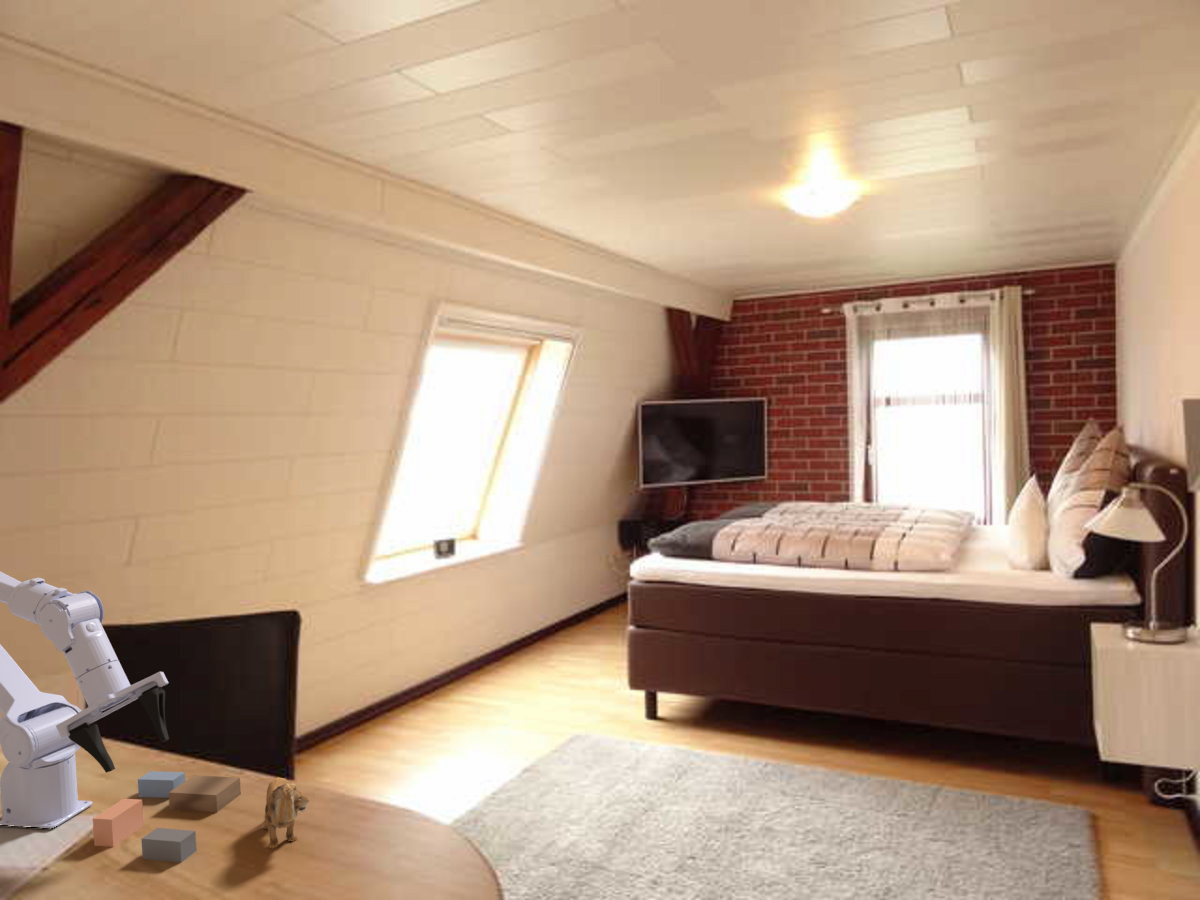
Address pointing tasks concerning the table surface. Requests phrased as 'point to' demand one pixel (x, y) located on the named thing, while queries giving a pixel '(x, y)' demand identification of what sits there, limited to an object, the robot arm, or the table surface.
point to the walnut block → (204, 793)
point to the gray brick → (169, 845)
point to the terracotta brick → (118, 822)
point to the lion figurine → (282, 808)
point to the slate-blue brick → (159, 783)
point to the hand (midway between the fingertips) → (138, 755)
